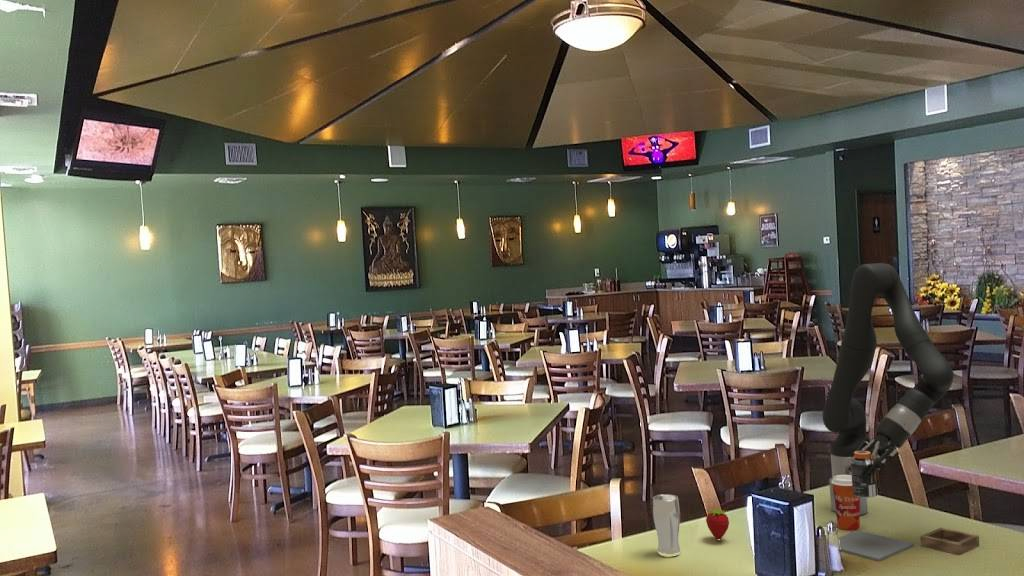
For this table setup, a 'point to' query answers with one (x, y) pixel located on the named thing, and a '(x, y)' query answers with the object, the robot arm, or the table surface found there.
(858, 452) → the pill bottle
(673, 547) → the beer glass
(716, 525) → the strawberry
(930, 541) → the holder collar
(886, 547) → the rubber mat
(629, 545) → the table surface
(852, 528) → the paper cup
